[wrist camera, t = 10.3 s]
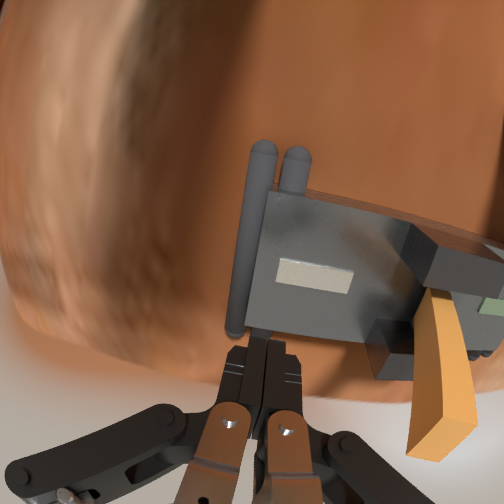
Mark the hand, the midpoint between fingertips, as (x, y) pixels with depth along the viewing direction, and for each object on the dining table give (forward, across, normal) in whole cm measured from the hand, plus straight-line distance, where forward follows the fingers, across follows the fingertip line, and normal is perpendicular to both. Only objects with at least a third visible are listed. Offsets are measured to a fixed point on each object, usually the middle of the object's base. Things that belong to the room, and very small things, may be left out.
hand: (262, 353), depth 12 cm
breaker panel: (+11, -12, 0) cm, 16 cm away
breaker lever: (+7, -12, 0) cm, 14 cm away
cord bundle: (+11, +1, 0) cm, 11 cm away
